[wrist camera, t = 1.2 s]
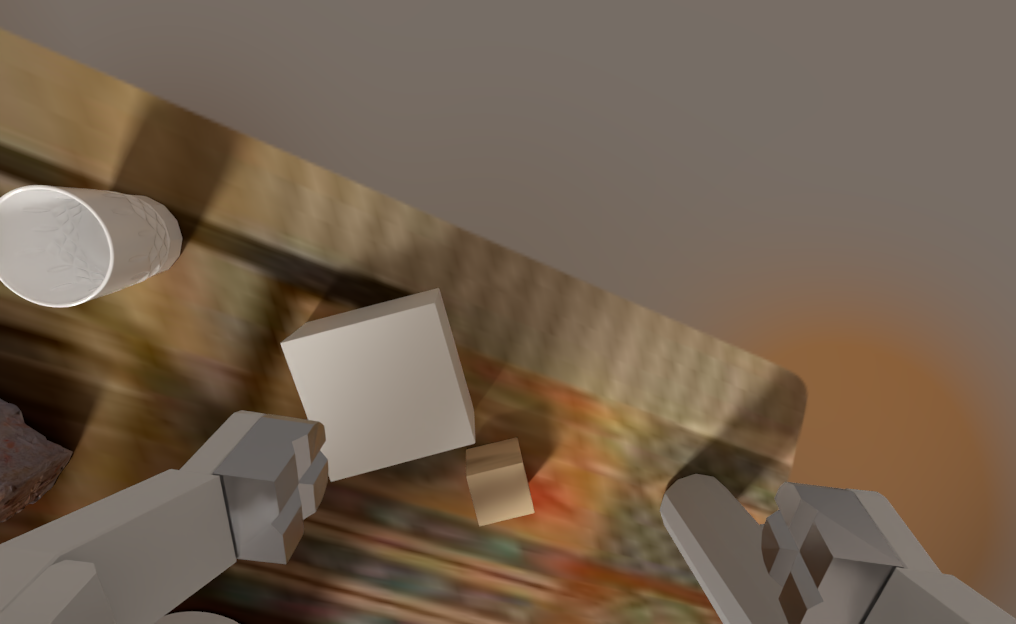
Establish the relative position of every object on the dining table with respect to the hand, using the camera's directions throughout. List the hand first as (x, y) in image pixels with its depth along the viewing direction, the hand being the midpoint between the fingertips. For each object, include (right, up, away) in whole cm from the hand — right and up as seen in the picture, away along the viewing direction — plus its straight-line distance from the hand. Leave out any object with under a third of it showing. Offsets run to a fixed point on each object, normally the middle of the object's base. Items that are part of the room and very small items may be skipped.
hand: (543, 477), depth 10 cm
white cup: (-31, +9, +35) cm, 47 cm away
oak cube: (-2, -12, +41) cm, 43 cm away
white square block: (-11, -2, +39) cm, 40 cm away
